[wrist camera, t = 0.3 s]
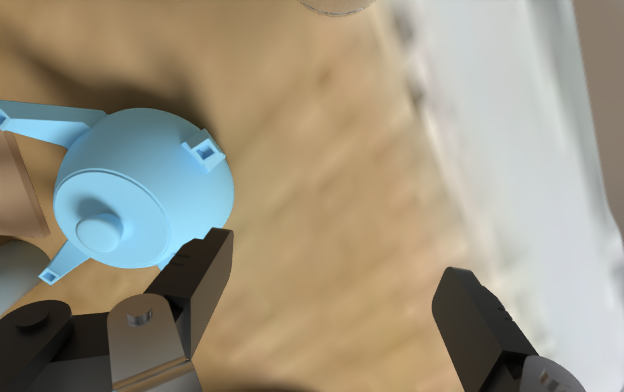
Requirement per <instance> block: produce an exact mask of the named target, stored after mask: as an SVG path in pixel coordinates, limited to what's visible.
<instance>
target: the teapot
mask: <svg viewBox="0 0 624 392" xmlns="http://www.w3.org/2000/svg"><path fill="white" fill-rule="evenodd" d="M0 129H1V130H2V131H5V130H7V131H11V132H14V133H18V134H21V135H25V136H29V137H32V138H36V139H39V140H43V141H47V142H50V143H54V144H57V145H61V146H63V147H65V148H66V149H67V150H68V151H67V153H66V155H65V156H64V159H63V161H62V163H61V166H60V169H59V172H58V175H57V179H56V183H55V188H54V195H53V209H54V214H55V218H56V220H57V223H58V225H59V227H60V228H61V230H62V232H63V233H64V234H65V236H66V237H67V238H68V240H67V241H66V242H65V243H64V245H63V246H62V247H61V249H60V250H59V251H58V253H57V254H56V255H55V256H54V258H53V259H52V260H51V262H50V263H49V264H48V265H47V267H46V268H45V269H44V271H43V272H42V273H41V274H40V275H39V276H38V277H39V278H41V279H42V280H44V281H45V282H47V283H48V284H49V285H52V284H53V283H55V282H56V281H57V280H59V279H60V278H61V277H63V276H64V275H65V274H67V273H68V272H70V271H71V270H72V269H74V268H75V267H76V266H78V265H79V264H81V263H82V262H84V261H85V260H87V259H89V258H90V257H91V258H93V259H95V260H97V261H99V262H101V263H104V264H107V265H110V266H114V267H119V268H142V267H150V266H154V265H157V266H158V267H159V269H160V270H161V271H162V270H163V268H164V267H165V266H166V265H167V264H168V263H169V261H170V260H171V259H172V257H173V256H175V254H176V252H177V251H178V250H179V249H180V248H181V246H182V245H183V244H185V243H187V242H189V241H190V240H192V239H194V238H198V239H204V237H205V236H206V234H207V233H208V232H209V230H210V229H211V228H212V227H216V228H222V227H223V226H224V224H225V223H226V221H227V219H228V217H229V215H230V213H231V210H232V207H233V202H234V184H233V178H232V175H231V171H230V168H229V166H228V164H227V161H226V159H225V157H226V155H225V154H224V152H223V151H222V150H221V149H220V147H219V146H218V145H217V143H216V142H215V141H214V139H213V138H212V137H211V135H210V134H209V133H208V131H207V130H206V129H205V128H204V129H203V130H200V129H199V128H198V127H196V126H195V125H193V124H192V123H190V122H189V121H187V120H185V119H183V118H181V117H179V116H177V115H174V114H171V113H169V112H166V111H162V110H158V109H151V108H131V109H124V110H121V111H118V112H115V113H112V114H110V115H108V114H106V113H105V112H104V111H103V110H94V109H85V108H75V107H65V106H55V105H46V104H36V103H26V102H16V101H7V100H0Z"/></svg>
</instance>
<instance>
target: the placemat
mask: <svg viewBox="0 0 624 392" xmlns="http://www.w3.org/2000/svg"><path fill="white" fill-rule="evenodd" d="M0 235H8V236H22V237H37V238H45V237H47V236H48V235H50V232H49V229H48V226H47V224H46V221H45V218H44V216H43V213H42V210H41V208H40V205H39V202H38V200H37V197H36V194H35V192H34V189H33V186H32V184H31V181H30V178H29V176H28V173H27V170H26V168H25V165H24V163H23V160H22V157H21V155H20V152H19V149H18V147H17V144H16V141H15V139H14V136H13V133H12V132H11V131H7V130H5V131H2V130H1V129H0Z"/></svg>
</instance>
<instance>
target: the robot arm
mask: <svg viewBox="0 0 624 392" xmlns="http://www.w3.org/2000/svg"><path fill="white" fill-rule="evenodd" d="M298 1H299V2H300V3H301V4H303V5H304V6H305V7H307V8H308V9H310V10H312V11H314V12H316V13H318V14H321V15H326V16H331V17H336V16H347V15H350V14H354V13H357V12H359V11H361V10H362V9H364V8H366V7H368V6H369V5H370V4H372V3H373V2H374V1H375V0H298ZM233 238H234V233H233V230H228V229H222V228H216V227H212V228H211V229H210V230H209V232H208V233H207V234H206V236H205V237H204V239H198V238H194V239H192V240H190V241H189V242H187V243H185V244H183V245H182V246H181V248H180V249H179V250H178V251H177V252H176V254H175V256H173V257H172V259H171V260H170V261H169V263H168V264H167V265H166V266H165V267H164V268H163V270H162V271H161V272H160V273H159V274H158V276H157V277H156V278H155V279H154V281H153V282H152V283H151V284H150V285H149V287H148V288H147V289H146V290H145V292H144V293H143V294H138V295H134V296H131V297H129V298H126V299H124V300H123V301H121V302H120V303H118V304H117V305H116V306H115V307H113V309H112V310H111V311H110V312H104V313H95V314H84V315H73V316H72V312H71V309H70V306H69V305H68V304H66V303H65V302H62V301H58V300H44V301H38V302H34V303H30V304H27V305H25V306H22V307H20V308H18V309H16V310H14V311H12V312H10V313H9V314H7V315H6V316H4V317H3V318H2V319H0V392H203V391H202V388H201V385H200V382H199V379H198V376H197V373H196V370H195V367H194V365H193V363H192V361H191V359H192V357H193V354H194V352H195V350H196V348H197V346H198V344H199V342H200V340H201V337H202V335H203V333H204V331H205V329H206V327H207V325H208V322H209V320H210V318H211V316H212V314H213V312H214V310H215V308H216V305H217V303H218V301H219V299H220V297H221V295H222V293H223V290H224V288H225V286H226V284H227V282H228V279H229V276H230V272H231V267H232V254H233ZM432 314H433V317H434V319H435V322H436V324H437V326H438V329H439V331H440V334H441V336H442V338H443V341H444V343H445V346H446V348H447V350H448V353H449V355H450V358H451V360H452V362H453V365H454V367H455V370H456V372H457V374H458V377H459V379H460V382H461V384H462V386H463V389H464V391H465V392H586V391H585V389H584V388H583V386H582V385H581V383H580V382H579V381H578V380H577V379H576V378H575V377H574V376H573V375H572V374H571V373H570V372H569V371H567V370H566V369H565V368H563V367H562V366H561V365H559V364H557V363H556V362H554V361H552V360H550V359H547V358H545V357H542V356H539V355H538V353H537V352H536V350H535V349H534V348H533V346H532V345H531V344H530V342H529V341H528V339H527V338H526V337H525V335H524V334H523V333H522V331H521V330H520V328H519V327H518V326H517V324H516V323H515V322H514V321H512V317H511V316H510V315H509V313H508V312H507V311H505V308H504V306H503V305H502V304H501V302H500V301H499V299H498V298H497V297H496V296H495V295H494V294H493V293H491V292H490V291H489V290H488V289H487V288H486V287H484V286H482V285H481V284H480V282H479V281H478V279H477V278H476V277H475V275H474V274H473V272H472V271H470V270H466V269H460V268H454V267H447V268H446V269H445V271H444V273H443V276H442V278H441V280H440V283H439V285H438V288H437V290H436V292H435V295H434V297H433V300H432ZM187 359H189V360H187Z"/></svg>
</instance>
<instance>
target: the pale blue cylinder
mask: <svg viewBox="0 0 624 392" xmlns="http://www.w3.org/2000/svg"><path fill="white" fill-rule="evenodd" d="M50 262H51V261H50V259H49V257H48V256H47V255H46V254H45V253H44V252H43V251H42V250H41V249H39V248H38V247H36V246H35V245H33V244H31V243H28V242H25V241H19V240H13V241H9V242H7V243H5V244H3V245H2V246H0V315H2V314H3V313H4V312H5V311H6V310H8V309H9V308H10V307H11V306H13V305H14V304H15V303H16V302H17V301H19V300H20V299H21V298H22V297H23V296H25V295H26V294H27V293H28V292H30V291H31V290H32V289H33V288H34V287H36V286H37V285H38V284H39V283H40V282H42V281H43V280H42V279H41V278H39V277H38V276H39V275H40V274H41V273H42V272H43V271H44V269H45V268H46V267H47V265H48V264H49V263H50Z"/></svg>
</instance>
